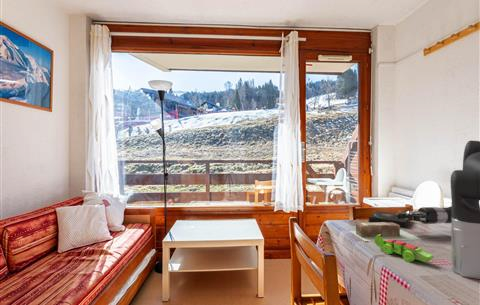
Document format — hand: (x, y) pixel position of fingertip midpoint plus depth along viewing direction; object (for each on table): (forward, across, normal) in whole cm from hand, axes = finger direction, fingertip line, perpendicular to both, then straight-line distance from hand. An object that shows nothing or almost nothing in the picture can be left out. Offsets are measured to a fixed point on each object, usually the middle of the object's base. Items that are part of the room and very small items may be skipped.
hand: (396, 216), depth 122 cm
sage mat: (+6, 0, +9) cm, 11 cm away
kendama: (-32, -28, +10) cm, 43 cm away
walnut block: (0, 0, +6) cm, 6 cm away
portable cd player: (-10, -21, +10) cm, 25 cm away
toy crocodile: (+13, +22, +9) cm, 28 cm away
